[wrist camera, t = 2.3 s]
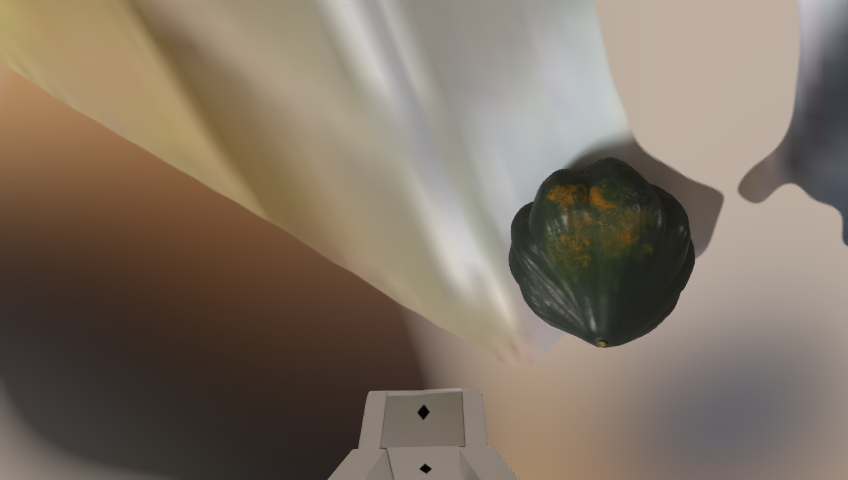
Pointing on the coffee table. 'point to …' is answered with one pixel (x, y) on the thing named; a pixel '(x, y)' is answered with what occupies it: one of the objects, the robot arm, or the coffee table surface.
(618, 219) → the squash
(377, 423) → the robot arm
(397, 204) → the coffee table surface
